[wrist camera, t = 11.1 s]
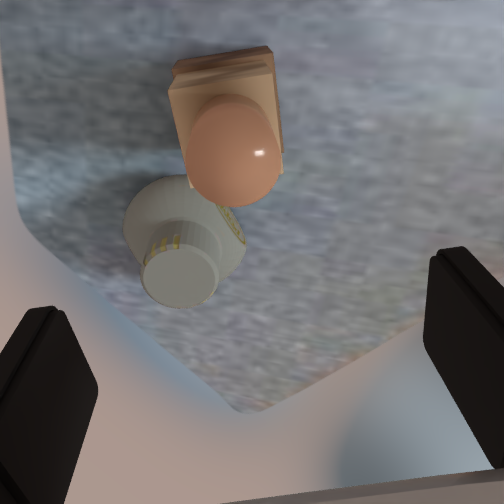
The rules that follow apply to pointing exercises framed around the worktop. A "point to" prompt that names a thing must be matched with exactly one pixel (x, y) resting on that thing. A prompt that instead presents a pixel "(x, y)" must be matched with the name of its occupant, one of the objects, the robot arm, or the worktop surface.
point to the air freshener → (181, 242)
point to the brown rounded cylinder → (232, 151)
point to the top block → (219, 83)
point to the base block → (232, 59)
